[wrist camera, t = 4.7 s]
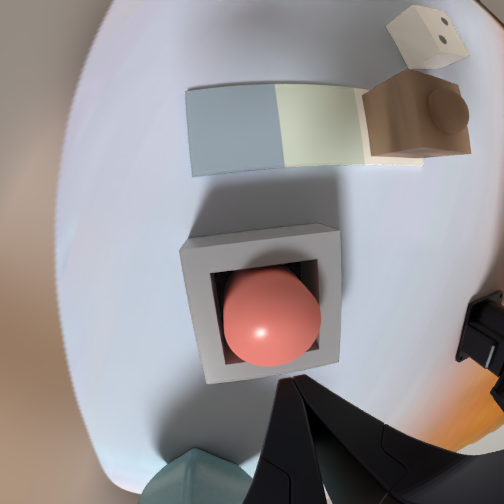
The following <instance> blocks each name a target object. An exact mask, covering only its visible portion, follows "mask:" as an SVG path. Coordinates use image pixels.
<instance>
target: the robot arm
mask: <svg viewBox="0 0 504 504" xmlns="http://www.w3.org/2000/svg"><path fill="white" fill-rule="evenodd" d="M502 297H503V291H501V290H499V291H497V292H495V293H492V294H490V295H488V296H486V297H484V298H481V299H479V300H477V301H475V302H472V303H471V304H470V305H469V307H468V311H467V316H466V320H465V325H464V329H463V333H462V337H461V341H460V345H459V349H458V352H457V356H456V361H457V362H458V363H459V362H461V361H463V360H465V359H467V358H468V357H470V358H471V359H473V360H474V361H475V362H477V363H478V364H479V365H481V366H482V367H483V368H485V369H488V370H490V371H491V372H492V373H493V374H495V375H496V376H497V377H499V376H500V377H499V379H498V381H497V382H496V384H495V386H494V387H493V388H492V389H491V391H490V394H491V395H492V396H493V397H494V400H495V401H496V402H497V404H498V405H499V406H500V408H501V409H502V410H503V412H504V306H503V305H501V302H502ZM323 484H324V486H325V488H326V491H327V493H328V495H329V497H330V499H331V501H332V503H333V504H504V450H500V451H496V452H492V453H487V454H483V455H464V454H459V453H456V452H452V451H449V450H446V449H443V448H440V447H437V446H434V445H431V444H428V443H426V442H423V441H420V440H418V439H416V438H413V437H411V436H408V435H406V434H404V433H402V432H400V431H398V430H396V429H394V428H393V427H391V426H389V425H387V424H384V423H383V422H382V421H380V420H378V419H376V418H375V417H373V416H371V415H370V414H368V413H366V412H364V411H363V410H361V409H359V408H358V407H356V406H354V405H353V404H351V403H350V402H348V401H346V400H345V399H343V398H341V397H340V396H338V395H337V394H335V393H333V392H332V391H330V390H329V389H327V388H326V387H324V386H322V385H321V384H319V383H318V382H316V381H315V380H313V379H312V378H310V377H309V376H307V375H305V374H303V375H298V376H294V377H293V378H291V377H288V378H283V379H279V380H278V384H277V389H276V393H275V397H274V402H273V406H272V410H271V414H270V419H269V423H268V427H267V431H266V435H265V439H264V442H263V446H262V450H261V454H260V458H259V461H258V464H257V468H256V471H255V474H254V477H253V480H252V483H251V485H250V487H249V490H248V492H247V494H246V496H245V498H244V500H243V502H242V504H327V501H326V496H325V491H324V487H323Z"/></svg>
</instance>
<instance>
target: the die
mask: <svg viewBox="0 0 504 504" xmlns="http://www.w3.org/2000/svg"><path fill="white" fill-rule="evenodd" d="M386 28H387V30H388V31H389V33H390V35H391V37H392V38H393V40H394V42H395V44H396V45H397V47H398V49H399V51H400V53H401V55H402V57H403V59H404V61H405V63H406V65H407V67H408V69H440V68H443V67H445V66H447V65H450V64H452V63H454V62H457V61H459V60H462V59H464V58H467V57H469V56H470V55H469V53H468V51H467V49H466V47H465V45H464V43H463V41H462V39H461V37H460V36H459V34H458V32H457V30H456V29H455V27H454V25H453V24H452V22H451V20H450V19H449V17H448V15H447V14H446V12H444V11H440V10H436V9H432V8H428V7H423V6H419V5H414V4H412V5H411V6H410V7H408V8H407V9H406V10H405V11H403V12H402V13H401V14H400V15H398V16H397V17H396V18H395V19H393V20H392V21H391V22H390V23H389V24H387V25H386Z"/></svg>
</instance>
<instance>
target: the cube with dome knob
mask: <svg viewBox="0 0 504 504" xmlns="http://www.w3.org/2000/svg"><path fill="white" fill-rule="evenodd" d="M362 100H363V105H364V111H365V117H366V123H367V130H368V137H369V144H370V153H371V156H376V157H402V158H427V157H437V156H449V155H462V154H471V148H470V141H469V134H468V128H467V124H468V121H469V111H468V107H467V105H466V103H465V101H464V100H463V98H462V97H461V94H460V90H459V87H458V85H456V84H454V83H451V82H448V81H445V80H443V79H440V78H437V77H434V76H431V75H427V74H424V73H421V72H418V71H414V70H410V69H406V70H404V71H402V72H401V73H399V74H397V75H395V76H394V77H392V78H390V79H388V80H387V81H385V82H383V83H382V84H380V85H378V86H376V87H375V88H373V89H371V90H370V91H368V92H367V93H365V94H363V95H362Z"/></svg>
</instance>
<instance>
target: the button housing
mask: <svg viewBox="0 0 504 504" xmlns="http://www.w3.org/2000/svg"><path fill="white" fill-rule="evenodd" d="M179 253H180V259H181V265H182V271H183V277H184V282H185V288H186V293H187V298H188V303H189V308H190V313H191V318H192V323H193V328H194V332H195V337H196V341H197V346H198V350H199V354H200V358H201V363H202V367H203V371H204V375H205V379H206V383H207V384H214V383H224V382H232V381H240V380H248V379H255V378H262V377H268V376H274V375H280V374H285V373H291V372H296V371H301V370H306V369H310V368H315V367H319V366H324V365H328V364H332V363H336V362H339V353H340V333H341V239H340V230H337V229H334V228H331V227H328V226H325V225H322V224H319V223H314V224H304V225H295V226H286V227H277V228H269V229H260V230H251V231H243V232H235V233H227V234H219V235H211V236H203V237H196V238H188V239H187V240H186V242H185V243H184V244H183V246H182V247H181V248H180V250H179ZM299 261H300V264H301V281H302V283H303V284H304V285H305V287H306V288H307V289H308V290H309V291H310V292H311V293H312V295H313V296H314V297H315V299H316V300H317V302H318V305H319V307H320V311H321V326H320V330H319V333H318V336H317V338H316V340H315V341H314V343H313V344H312V346H311V347H310V348H309V349H308V350H307V351H306V352H305V353H304V354H302V355H301V356H300V357H298V358H297V359H295V360H293V361H291V362H289V363H286V364H283V365H278V366H270V367H265V366H258V365H253V364H251V363H248V362H246V361H244V360H242V359H241V358H239V357H238V356H237V355H236V354H235V353H234V352H233V351H232V350H231V348H230V347H229V345H228V343H227V341H226V338H225V335H224V331H223V325H222V319H221V313H220V307H219V301H218V295H217V288H216V281H215V275H214V273H215V272H223V271H231V270H239V269H246V268H254V267H262V266H269V265H277V264H284V263H291V262H299Z"/></svg>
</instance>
